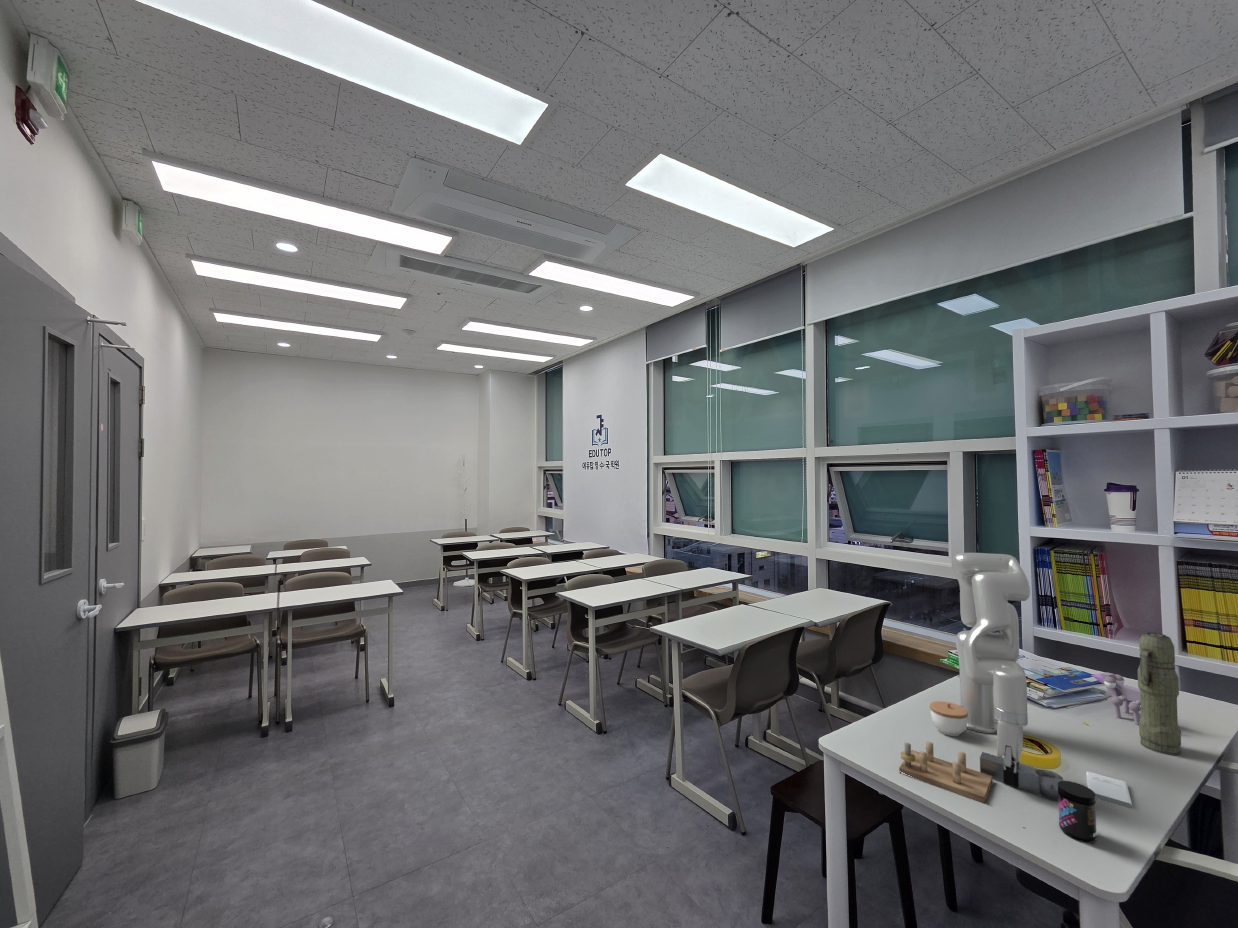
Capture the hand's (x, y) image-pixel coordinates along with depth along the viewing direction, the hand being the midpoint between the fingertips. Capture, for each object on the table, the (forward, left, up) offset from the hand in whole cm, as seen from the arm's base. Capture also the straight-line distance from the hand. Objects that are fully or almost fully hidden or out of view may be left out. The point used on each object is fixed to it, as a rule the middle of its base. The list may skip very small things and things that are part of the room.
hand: (1012, 780), depth 141 cm
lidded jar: (-21, -19, -1) cm, 28 cm away
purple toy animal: (-76, +24, -1) cm, 79 cm away
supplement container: (+15, +14, 0) cm, 21 cm away
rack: (+10, -14, 0) cm, 17 cm away
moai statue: (-54, +31, 0) cm, 62 cm away
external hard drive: (-13, +19, -1) cm, 23 cm away
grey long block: (0, +2, 0) cm, 2 cm away
